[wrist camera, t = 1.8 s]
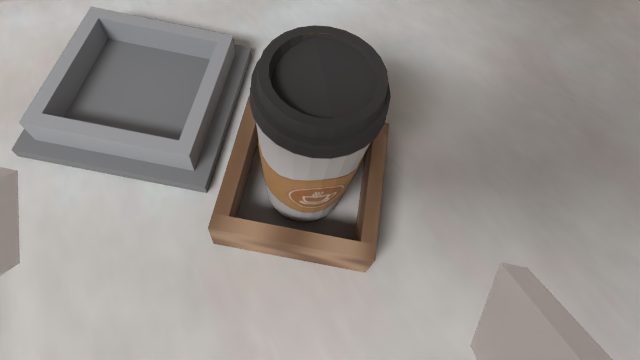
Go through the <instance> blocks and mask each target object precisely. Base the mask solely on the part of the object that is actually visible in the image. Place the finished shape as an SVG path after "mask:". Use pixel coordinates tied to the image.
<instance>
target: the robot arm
mask: <svg viewBox="0 0 640 360" xmlns="http://www.w3.org/2000/svg"><path fill="white" fill-rule="evenodd" d="M19 263H20V258H19V213H18V171H17V170H12V169H6V168H1V167H0V276H1V275H2V274H4V273H5V272H7V271H8V270H10V269H11V268H13V267H14V266H16V265H17V264H19ZM470 346H471V348H472V350H473V352H474V354H475V356H476V358H477V360H613V359H612V358H611V357H610V356H609V355H608V354H607V353H606V352H605V351H604V350H603V349H602V348H601V346H600V345H599V344H598V343H597V342H596V341H595V340H594V339H593V338H592V337H591V336H590V335H589V334H588V332H587V331H586V330H585V329H584V328H583V327H582V326H581V325H580V324H579V323H578V322H577V321H576V320H575V318H574V317H573V316H572V315H571V314H570V313H569V312H568V311H567V310H566V309H565V308H564V307H563V306H562V304H561V303H560V302H559V301H558V300H557V299H556V298H555V297H554V296H553V295H552V294H551V293H550V292H549V290H548V289H547V288H546V287H545V286H544V285H543V284H542V283H541V282H540V281H539V280H538V279H537V278H536V276H535V275H534V274H533V273H532V272H531V271H530V270H529V269H528V268H526V267H521V266H515V265H510V264H505V263H500V266H499V268H498V271H497V274H496V276H495V279H494V282H493V285H492V287H491V290H490V293H489V296H488V298H487V301H486V304H485V307H484V309H483V312H482V315H481V318H480V320H479V323H478V326H477V328H476V331H475V334H474V337H473V339H472V342H471V345H470Z"/></svg>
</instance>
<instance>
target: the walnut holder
mask: <svg viewBox="0 0 640 360" xmlns="http://www.w3.org/2000/svg"><path fill="white" fill-rule="evenodd" d="M249 101H250V96H249V97H248V101H247V104H246V107H245V110H244V114H243V117H242V120H241V123H240V127H239V130H238V133H237V136H236V139H235V143H234V146H233V149H232V152H231V156H230V159H229V162H228V165H227V168H226V172H225V175H224V178H223V181H222V185H221V188H220V191H219V194H218V198H217V201H216V204H215V207H214V210H213V214H212V217H211V220H210V223H209V227H208V229H209V232H210V235H211V238H212V240H213V243H214V244H219V245H225V246H230V247H235V248H240V249H245V250H251V251H256V252H261V253H266V254H272V255H277V256H282V257H287V258H292V259H298V260H303V261H308V262H313V263H319V264H324V265H329V266H334V267H339V268H345V269H350V270H355V271H360V272H366V271H367V270H368V268H369V267H370V266H371V265H372V263H373V262H374V261H375V256H376V246H377V236H378V226H379V216H380V206H381V196H382V187H383V177H384V167H385V157H386V147H387V137H388V127H389V124H387V123H385V124H384V126H383V127H382V129H381V131H380V133H379V134H378V136H377V137H376V138H375V139H374V140H373V141H372V142H371V143H370V144H369V146H368V148H367V150H366V152H365V161H364V169H363V177H362V185H361V192H360V200H359V208H358V216H357V224H356V231H355V239H354V240H349V239H344V238H339V237H333V236H328V235H323V234H318V233H313V232H308V231H302V230H297V229H292V228H287V227H282V226H277V225H271V224H266V223H261V222H256V221H251V220H245V219H240V218H236V217H237V214H238V210H239V207H240V203H241V200H242V196H243V192H244V189H245V185H246V182H247V178H248V174H249V171H250V167H251V164H252V160H253V156H254V153H255V149H256V146H257V142H258V132H257V126H256V121H255V120H254V118H253V115H252V111H251V107H250V104H249Z"/></svg>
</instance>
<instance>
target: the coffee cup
mask: <svg viewBox="0 0 640 360" xmlns="http://www.w3.org/2000/svg"><path fill="white" fill-rule="evenodd" d="M389 101H390V90H389V83H388V76H387V70H386V68H385V65H384V63H383V61H382V59H381V57H380V56H379V55H378V54H377V52H376V51H375V50H374V49H373V48H372V46H370V45H369V44H368V43H366V42H365V41H364V40H362V39H361V38H360V37H358V36H356V35H353V34H351V33H349V32H347V31H345V30H341V29H337V28H333V27H328V26H307V27H299V28H296V29H293V30H290V31H287V32H285V33H283V34H281V35H280V36H278V37H277V38H275V39H274V40H272V41H271V43H270V44H269V45H268V46H267V47H266V48H265V50H264V51H263V53H262V56H261V58H260V60H259V61H258V62H257V64H256V66H255V69H254V71H253V74H252V78H251V88H250V101H249V104H250V107H251V111H252V115H253V118H254V120H255V121H256V126H257V132H258V146H259V152H260V158H261V164H262V170H263V175H264V179H265V182H266V189H267V193H268V197H269V200H270V202H271V203H272V205H273V207H274V208H275V209H276V210H277V211H278V212H279V213H280V214H282V215H284V216H286V217H287V218H289V219H292V220H296V221H313V220H317V219H320V218H322V217H324V216H326V215H328V214H329V213H330V212H331V211H332V210H333V209H334V208H335V206H336V204H337V203H338V201H339V199H340V197H341V196H342V195H343V194H344V192H345V190H346V188H347V187H348V185H349V183H350V181H351V179H352V178H353V176H354V174H355V172H356V170H357V169H358V167H359V165H360V163H361V162H362V160H363V157H364V153H365V152H366V150H367V148H368V146H369V144H370V143H371V142H372V141H373V140H374V139H375V138H376V137H377V136H378V134H379V133H380V131H381V129H382V127H383V126H384V124H385V120H386V114H387V111H388V107H389Z"/></svg>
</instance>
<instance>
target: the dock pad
mask: <svg viewBox="0 0 640 360" xmlns="http://www.w3.org/2000/svg"><path fill="white" fill-rule="evenodd" d="M250 58H251V48H249V47H244V46H239V45H234V39H233V35H228V34H223V33H218V32H213V31H208V30H203V29H199V28H194V27H189V26H184V25H179V24H174V23H169V22H164V21H159V20H154V19H150V18H145V17H140V16H135V15H130V14H125V13H120V12H115V11H110V10H105V9H101V8H96V7H90V9H89V11H88V12H87V14H86V16H85V17H84V19H83V20H82V22H81V24H80V25H79V27H78V28H77V30H76V32H75V33H74V35H73V36H72V38H71V40H70V41H69V43H68V44H67V46H66V48H65V49H64V51H63V52H62V54H61V56H60V57H59V59H58V61H57V62H56V64H55V65H54V67H53V69H52V70H51V72H50V73H49V75H48V77H47V78H46V80H45V81H44V83H43V85H42V86H41V88H40V89H39V91H38V93H37V94H36V96H35V97H34V99H33V101H32V102H31V104H30V105H29V107H28V109H27V110H26V112H25V114H24V115H23V117H22V118H21V120H20V122H19V123H20V124H21V125H22V126H23V127H24V130H23V132H22V133H21V135H20V137H19V138H18V140H17V142H16V143H15V145H14V147H13V148H12V151H13V152H14V153H15V154H16V155H17V156H20V157H26V158H31V159H36V160H41V161H46V162H51V163H56V164H62V165H67V166H72V167H77V168H82V169H87V170H92V171H98V172H103V173H108V174H113V175H118V176H123V177H128V178H134V179H139V180H144V181H149V182H154V183H159V184H164V185H170V186H175V187H180V188H185V189H190V190H195V191H200V192H206V193H207V190H208V187H209V184H210V181H211V178H212V175H213V172H214V169H215V165H216V162H217V159H218V156H219V153H220V150H221V147H222V144H223V141H224V138H225V135H226V132H227V129H228V126H229V122H230V119H231V116H232V113H233V110H234V107H235V104H236V101H237V98H238V95H239V92H240V89H241V86H242V83H243V79H244V76H245V73H246V70H247V67H248V64H249V61H250Z"/></svg>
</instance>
